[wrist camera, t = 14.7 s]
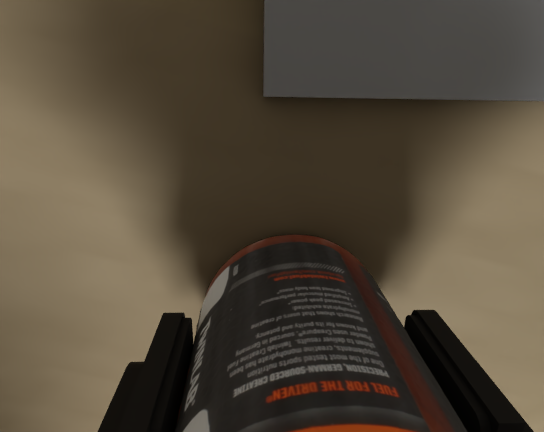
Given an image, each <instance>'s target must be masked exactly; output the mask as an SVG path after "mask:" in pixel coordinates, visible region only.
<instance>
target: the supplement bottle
mask: <svg viewBox="0 0 544 432" xmlns="http://www.w3.org/2000/svg"><path fill="white" fill-rule="evenodd" d="M175 432H467V430H466V429H465V427H464V425H463V423H462V422H461V420H460V418H459V417H458V416H457V414H456V412H455V411H454V409H453V407H452V406H451V404H450V402H449V401H448V399H447V397H446V396H445V394H444V393H443V391H442V389H441V387H440V386H439V384H438V382H437V381H436V379H435V378H434V376H433V375H432V373H431V371H430V369H429V368H428V366H427V365H426V363H425V362H424V360H423V358H422V357H421V355H420V354H419V352H418V350H417V349H416V347H415V345H414V344H413V342H412V341H411V339H410V337H409V335H408V333H407V331H406V330H405V329H404V327H403V325H402V324H401V322H400V320H399V319H398V318H397V316H396V314H395V312H394V311H393V309H392V308H391V306H390V304H389V303H388V301H387V299H386V298H385V296H384V295H383V293H382V292H381V290H380V288H379V287H378V285H377V283H376V282H375V280H374V278H373V277H372V276H371V275H370V274H369V273H368V271H367V270H366V269H365V267H364V266H363V265H362V264H361V263H360V262H359V260H358V259H357V258H355V257H354V256H353V255H352V254H351V253H349V252H348V251H347V250H345V249H344V248H342V247H340V246H338V245H337V244H335V243H333V242H330V241H328V240H326V239H323V238H320V237H314V236H308V235H280V236H275V237H270V238H266V239H263V240H260V241H258V242H256V243H253V244H251V245H248V246H246V247H245V248H243V249H242V250H240V251H239V252H237V253H236V254H235V255H233V256H232V257H231V258H230V259H229V260H228V261H227V262H226V263H225V264H224V265H223V266H222V267H221V268H220V269H219V271H218V272H217V273H216V275H215V277H214V278H213V279H212V281H211V283H210V286H209V288H208V290H207V292H206V296H205V299H204V302H203V306H202V308H201V311H200V316H199V321H198V324H197V331H196V336H195V339H194V344H193V350H192V353H191V358H190V363H189V368H188V372H187V379H186V383H185V388H184V393H183V397H182V401H181V406H180V409H179V413H178V419H177V424H176V428H175Z"/></svg>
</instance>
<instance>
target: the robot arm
mask: <svg viewBox="0 0 544 432" xmlns="http://www.w3.org/2000/svg"><path fill="white" fill-rule="evenodd" d="M404 329H405V330H406V331H407V333H408V335H409V337H410V339H411V341H412V342H413V344H414V345H415V347H416V349H417V350H418V352H419V354H420V355H421V357H422V358H423V360H424V362H425V363H426V365H427V366H428V368H429V369H430V371H431V373H432V375H433V376H434V378H435V379H436V381H437V382H438V384H439V386H440V387H441V389H442V391H443V393H444V394H445V396H446V397H447V399H448V401H449V402H450V404H451V406H452V407H453V409H454V411H455V412H456V414H457V416H458V417H459V418H460V420H461V422H462V423H463V425H464V427H465V429H466V430H467V432H533V430H532V429H531V428H530V427H529V425H528V424H527V423H526V422H525V420H524V419H523V418H522V417H521V415H520V414H519V413H518V412H517V411H516V409H515V408H514V407H513V406H512V404H511V403H510V402H509V401H508V399H507V398H506V397H505V396H504V394H503V393H502V392H501V391H500V389H499V388H498V387H497V386H496V385H495V383H494V382H493V381H492V380H491V378H490V377H489V376H488V375H487V373H486V372H485V371H484V370H483V368H482V367H481V366H480V365H479V364H478V362H477V361H476V360H475V359H474V358H473V356H472V355H471V354H470V353H469V352H468V350H467V349H466V348H465V347H464V345H463V344H462V343H461V342H460V340H459V339H458V338H457V337H456V335H455V334H454V333H453V332H452V330H451V329H450V328H449V327H448V326H447V324H446V323H445V322H444V321H443V319H442V318H441V317H440V316H439V314H438V313H437V312H436V311H435V310H414V311H413V312H412V314H411V315H408V316H407V317H406V320H405V326H404ZM192 350H193V332H192V319H191V318H185V315H184V313H163V315H162V318H161V320H160V323H159V325H158V328H157V330H156V333H155V336H154V338H153V341H152V343H151V346H150V348H149V351H148V353H147V356H146V359H145V361H144V362H130V363H129V364H128V366H127V367H126V369H125V372H124V374H123V376H122V378H121V381H120V383H119V385H118V387H117V390H116V392H115V394H114V396H113V399H112V401H111V403H110V405H109V408H108V410H107V412H106V414H105V416H104V419H103V421H102V423H101V425H100V428H99V430H98V432H175V428H176V424H177V419H178V413H179V409H180V406H181V401H182V397H183V393H184V388H185V383H186V379H187V372H188V368H189V363H190V358H191V353H192Z"/></svg>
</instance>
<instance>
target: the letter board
mask: <svg viewBox="0 0 544 432" xmlns="http://www.w3.org/2000/svg"><path fill="white" fill-rule="evenodd" d="M263 96H264V97H317V98H379V99H440V100H502V101H544V0H264V63H263Z"/></svg>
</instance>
